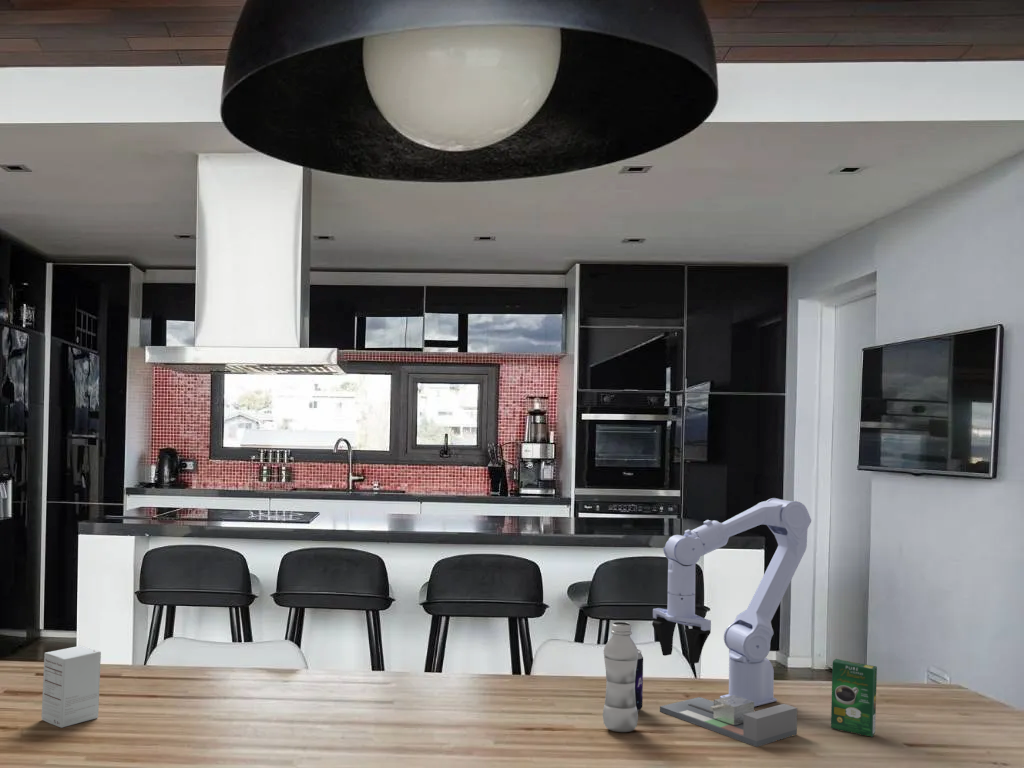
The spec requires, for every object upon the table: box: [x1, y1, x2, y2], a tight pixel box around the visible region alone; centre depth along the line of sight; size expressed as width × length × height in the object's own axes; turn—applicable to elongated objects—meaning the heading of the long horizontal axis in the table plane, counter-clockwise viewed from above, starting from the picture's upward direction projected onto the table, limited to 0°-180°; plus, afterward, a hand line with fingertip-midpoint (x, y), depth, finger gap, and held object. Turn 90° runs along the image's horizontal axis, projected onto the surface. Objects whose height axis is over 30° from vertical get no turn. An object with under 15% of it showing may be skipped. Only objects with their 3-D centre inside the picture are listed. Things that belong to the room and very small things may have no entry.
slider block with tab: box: [710, 695, 755, 725], centre depth 171 cm, size 10×5×4 cm, turn 127°
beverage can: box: [635, 648, 644, 713], centre depth 180 cm, size 6×6×12 cm
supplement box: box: [41, 645, 102, 729], centre depth 166 cm, size 7×7×13 cm
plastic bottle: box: [602, 621, 639, 733], centre depth 168 cm, size 6×7×20 cm
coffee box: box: [830, 658, 878, 738], centre depth 170 cm, size 8×3×13 cm, turn 54°
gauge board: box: [659, 696, 798, 748], centre depth 173 cm, size 12×24×5 cm, turn 37°
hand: (680, 658), depth 185 cm, fingers open, 7 cm apart
